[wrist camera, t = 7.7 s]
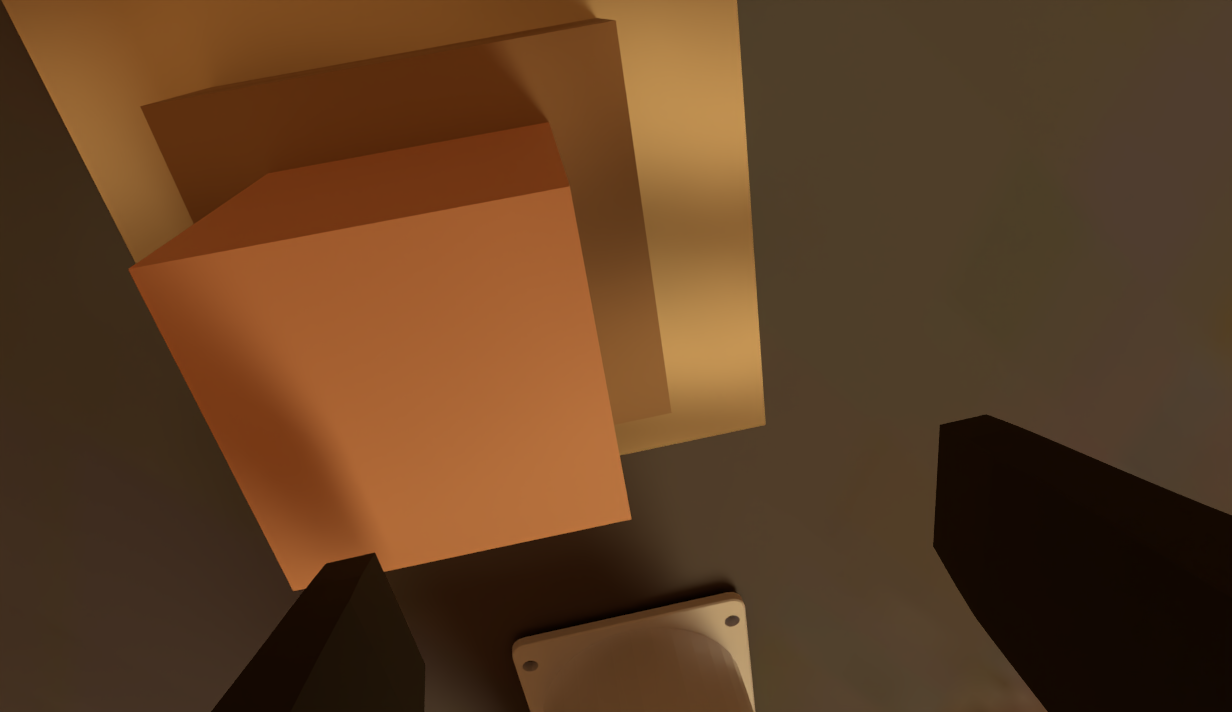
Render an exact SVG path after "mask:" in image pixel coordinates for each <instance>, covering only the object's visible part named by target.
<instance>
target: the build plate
mask: <svg viewBox="0 0 1232 712" xmlns="http://www.w3.org/2000/svg"><path fill="white" fill-rule="evenodd" d="M2 2H3V4H4V6H5V8H6V10H7V12H8V14H9V16H10V18H11V20H12V22H13V24H14V26H15V28H16V30H17V32H18V33H19V35H20V37H21V39H22V41H23V43H24V45H25V47H26V49H27V51H28V53H29V55H30V57H31V59H32V61H33V63H34V65H35V67H36V69H37V71H38V73H39V75H40V77H41V79H42V81H43V82H44V84H45V86H46V88H47V90H48V92H49V94H50V96H51V98H52V100H53V102H54V104H55V106H56V108H57V110H58V112H59V114H60V116H61V118H62V120H63V122H64V124H65V126H66V128H67V129H68V131H69V133H70V135H71V137H72V139H73V141H74V143H75V145H76V147H77V149H78V151H79V153H80V155H81V157H82V159H83V161H84V163H85V165H86V167H87V169H88V171H89V173H90V175H91V177H92V178H93V180H94V182H95V184H96V186H97V188H98V190H99V192H100V194H101V196H102V198H103V200H104V202H105V204H106V206H107V208H108V210H109V212H110V214H111V216H112V218H113V220H114V222H115V224H116V225H117V227H118V229H119V231H120V233H121V235H122V237H123V239H124V241H125V243H126V245H127V247H128V249H129V251H130V253H131V255H132V257H133V259H134V261H135V263H138V262H139V261H141V260H142V259H144V258H145V257H147V256H148V255H149V254H151V253H152V252H154V251H155V250H157V249H158V248H160V247H161V246H163V245H164V244H166V243H167V242H168V241H170V240H171V239H173V238H174V237H176V236H177V235H179V234H180V233H182V232H183V231H184V230H186V229H187V228H189V227H190V226H192V225H193V224H194V223H193V221H192V219H191V217H190V215H189V212H188V210H187V208H186V206H185V204H184V202H183V199H182V197H181V195H180V193H179V191H178V188H177V186H176V184H175V182H174V180H173V177H172V175H171V173H170V171H169V169H168V166H167V164H166V162H165V160H164V158H163V155H162V153H161V151H160V149H159V147H158V145H157V142H156V140H155V138H154V136H153V134H152V131H151V129H150V127H149V125H148V123H147V120H146V118H145V116H144V114H143V112H142V109H141V107H140V106H143V105H147V104H151V103H155V102H158V101H162V100H166V99H169V98H173V97H177V96H181V95H184V94H188V93H192V92H195V91H199V90H203V89H207V88H210V87H216V86H221V85H227V84H232V83H238V82H244V81H249V80H255V79H260V78H266V77H271V76H277V75H282V74H288V73H293V72H299V71H305V70H310V69H316V68H321V67H327V66H332V65H338V64H343V63H349V62H354V61H360V60H366V59H371V58H377V57H382V56H388V55H393V54H399V53H404V52H410V51H415V50H421V49H426V48H432V47H438V46H443V45H449V44H454V43H460V42H465V41H471V40H476V39H482V38H487V37H493V36H499V35H504V34H510V33H515V32H521V31H526V30H532V29H537V28H543V27H548V26H554V25H560V24H565V23H571V22H576V21H582V20H587V19H593V18H602V19H609V20H616V25H617V33H618V40H619V47H620V54H621V61H622V68H623V75H624V82H625V89H626V96H627V103H628V110H629V117H630V124H631V131H632V138H633V145H634V152H635V159H636V166H637V173H638V180H639V187H640V194H641V201H642V208H643V215H644V223H645V230H646V237H647V244H648V251H649V258H650V265H651V272H652V279H653V286H654V293H655V300H656V307H657V314H658V321H659V328H660V335H661V342H662V349H663V356H664V363H665V370H666V377H667V384H668V391H669V398H670V405H671V412H672V413H669V414H664V415H659V416H654V417H650V418H645V419H640V420H635V421H630V422H626V423H621V424H616V425H614V427H615V433H616V438H617V444H618V449H619V454H620V455H624V454H629V453H634V452H638V451H643V450H648V449H653V448H657V447H662V446H667V445H672V444H676V443H681V442H686V441H691V440H695V439H700V438H705V437H710V436H714V435H719V434H724V433H729V432H733V431H738V430H743V429H748V428H752V427H757V426H762V425H765V410H764V395H763V380H762V365H761V351H760V336H759V321H758V306H757V291H756V276H755V262H754V247H753V232H752V217H751V202H750V187H749V173H748V158H747V143H746V128H745V113H744V99H743V84H742V69H741V54H740V39H739V24H738V10H737V0H2Z"/></svg>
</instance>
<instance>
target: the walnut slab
mask: <svg viewBox="0 0 1232 712" xmlns="http://www.w3.org/2000/svg"><path fill="white" fill-rule="evenodd" d="M140 107H141V109H142V112H143V114H144V116H145V118H146V120H147V123H148V125H149V127H150V129H151V131H152V134H153V136H154V138H155V140H156V142H157V145H158V147H159V149H160V151H161V153H162V155H163V158H164V160H165V162H166V164H167V166H168V169H169V171H170V173H171V175H172V177H173V180H174V182H175V184H176V186H177V188H178V191H179V193H180V195H181V197H182V199H183V202H184V204H185V206H186V208H187V210H188V212H189V215H190V217H191V219H192V221H193V223H194V224H195V223H196V222H198V221H199V220H201V219H202V218H203V217H205V216H206V215H208V214H209V213H211V212H212V211H214V210H215V209H217V208H218V207H219V206H221V205H222V204H224V203H225V202H227V201H228V200H230V199H231V198H233V197H234V196H236V195H237V194H238V193H240V192H241V191H243V190H244V189H246V188H247V187H249V186H250V185H252V184H253V183H254V182H256V181H257V180H259V179H260V178H262V177H263V176H265V175H266V174H268V173H272V172H278V171H283V170H289V169H294V168H300V167H305V166H311V165H316V164H322V163H327V162H333V161H338V160H344V159H349V158H355V157H360V156H366V155H371V154H376V153H382V152H387V151H393V150H398V149H404V148H409V147H415V146H420V145H426V144H431V143H437V142H442V141H448V140H453V139H459V138H464V137H470V136H475V135H481V134H486V133H491V132H497V131H502V130H508V129H513V128H519V127H524V126H530V125H535V124H541V123H546V122H549V124H550V127H551V130H552V133H553V136H554V139H555V142H556V145H557V148H558V151H559V154H560V158H561V161H562V164H563V167H564V170H565V173H566V176H567V179H568V182H569V185H570V190H571V195H572V201H573V206H574V211H575V217H576V222H577V228H578V233H579V238H580V244H581V249H582V255H583V260H584V265H585V271H586V276H587V282H588V287H589V292H590V298H591V303H592V309H593V314H594V319H595V325H596V330H597V336H598V341H599V346H600V352H601V357H602V363H603V368H604V373H605V379H606V384H607V390H608V395H609V400H610V406H611V411H612V417H613V422H614V425H616V424H621V423H626V422H630V421H635V420H640V419H645V418H650V417H654V416H659V415H664V414H669V413H672V412H671V405H670V398H669V391H668V384H667V377H666V370H665V363H664V356H663V349H662V342H661V335H660V328H659V321H658V314H657V307H656V300H655V293H654V286H653V279H652V272H651V265H650V258H649V251H648V244H647V237H646V230H645V223H644V215H643V208H642V201H641V194H640V187H639V180H638V173H637V166H636V159H635V152H634V145H633V138H632V131H631V124H630V117H629V110H628V103H627V96H626V89H625V82H624V75H623V68H622V61H621V54H620V47H619V40H618V33H617V25H616V20H609V19H602V18H593V19H587V20H582V21H576V22H571V23H565V24H560V25H554V26H548V27H543V28H537V29H532V30H526V31H521V32H515V33H510V34H504V35H499V36H493V37H487V38H482V39H476V40H471V41H465V42H460V43H454V44H449V45H443V46H438V47H432V48H426V49H421V50H415V51H410V52H404V53H399V54H393V55H388V56H382V57H377V58H371V59H366V60H360V61H354V62H349V63H343V64H338V65H332V66H327V67H321V68H316V69H310V70H305V71H299V72H293V73H288V74H282V75H277V76H271V77H266V78H260V79H255V80H249V81H244V82H238V83H232V84H227V85H221V86H216V87H210V88H207V89H203V90H199V91H195V92H192V93H188V94H184V95H181V96H177V97H173V98H169V99H166V100H162V101H158V102H155V103H151V104H147V105H143V106H140Z"/></svg>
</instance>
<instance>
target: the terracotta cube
mask: <svg viewBox="0 0 1232 712" xmlns="http://www.w3.org/2000/svg"><path fill="white" fill-rule="evenodd" d="M128 270H129V272H130V274H131V276H132V278H133V280H134V282H135V284H136V286H137V288H138V290H139V291H140V293H141V295H142V297H143V299H144V301H145V303H146V305H147V307H148V309H149V311H150V313H151V315H152V317H153V319H154V321H155V323H156V325H157V327H158V328H159V330H160V332H161V334H162V336H163V338H164V340H165V342H166V344H167V346H168V348H169V350H170V352H171V354H172V356H173V358H174V360H175V362H176V364H177V365H178V367H179V369H180V371H181V373H182V375H183V377H184V379H185V381H186V383H187V385H188V387H189V389H190V391H191V393H192V395H193V397H194V399H195V401H196V402H197V404H198V406H199V408H200V410H201V412H202V414H203V416H204V418H205V420H206V422H207V424H208V426H209V428H210V430H211V432H212V434H213V436H214V438H215V439H216V441H217V443H218V445H219V447H220V449H221V451H222V453H223V455H224V457H225V459H226V461H227V463H228V465H229V467H230V469H231V471H232V473H233V475H234V477H235V478H236V480H237V482H238V484H239V486H240V488H241V490H242V492H243V494H244V496H245V498H246V500H247V502H248V504H249V506H250V508H251V510H252V512H253V514H254V515H255V517H256V519H257V521H258V523H259V525H260V527H261V529H262V531H263V533H264V535H265V537H266V539H267V541H268V543H269V545H270V547H271V549H272V551H273V552H274V554H275V556H276V558H277V560H278V562H279V564H280V566H281V568H282V570H283V572H284V574H285V576H286V578H287V580H288V582H289V584H290V586H291V588H292V589H293V591H296V590H301V589H305V588H307V586H308V585H309V584H310V582H311V581H312V580H313V579H314V577H315V576H316V575H317V574H318V572H319V571H320V570H321V569H322V568H323V566H324V565H325V564H326V563H330V562H334V561H339V560H343V559H348V558H352V557H357V556H361V555H366V554H370V553H374V552H375V553H376V555H377V558H378V560H379V562H380V564H381V567H382V569H383V571H384V572H385V571H390V570H395V569H400V568H404V567H409V566H414V565H418V564H423V563H428V562H433V561H437V560H442V559H447V558H451V557H456V556H461V555H466V554H470V553H475V552H480V551H484V550H489V549H494V548H499V547H503V546H508V545H513V544H517V543H522V542H527V541H532V540H536V539H541V538H546V537H550V536H555V535H560V534H564V533H569V532H574V531H579V530H583V529H588V528H593V527H597V526H602V525H607V524H612V523H616V522H621V521H626V520H630V519H631V514H630V508H629V503H628V498H627V492H626V487H625V481H624V476H623V471H622V465H621V460H620V454H619V449H618V444H617V438H616V433H615V427H614V422H613V417H612V411H611V406H610V400H609V395H608V390H607V384H606V379H605V373H604V368H603V363H602V357H601V352H600V346H599V341H598V336H597V330H596V325H595V319H594V314H593V309H592V303H591V298H590V292H589V287H588V282H587V276H586V271H585V265H584V260H583V255H582V249H581V244H580V238H579V233H578V228H577V222H576V217H575V211H574V206H573V201H572V195H571V190H570V185H569V182H568V179H567V176H566V173H565V170H564V167H563V164H562V161H561V158H560V154H559V151H558V148H557V145H556V142H555V139H554V136H553V133H552V130H551V127H550V124H549V122H546V123H541V124H535V125H530V126H524V127H519V128H513V129H508V130H502V131H497V132H491V133H486V134H481V135H475V136H470V137H464V138H459V139H453V140H448V141H442V142H437V143H431V144H426V145H420V146H415V147H409V148H404V149H398V150H393V151H387V152H382V153H376V154H371V155H366V156H360V157H355V158H349V159H344V160H338V161H333V162H327V163H322V164H316V165H311V166H305V167H300V168H294V169H289V170H283V171H278V172H272V173H268V174H266V175H265V176H263V177H262V178H260V179H259V180H257V181H256V182H254V183H253V184H252V185H250V186H249V187H247V188H246V189H244V190H243V191H241V192H240V193H238V194H237V195H236V196H234V197H233V198H231V199H230V200H228V201H227V202H225V203H224V204H222V205H221V206H219V207H218V208H217V209H215V210H214V211H212V212H211V213H209V214H208V215H206V216H205V217H203V218H202V219H201V220H199V221H198V222H196V223H195V224H193V225H192V226H190V227H189V228H187V229H186V230H184V231H183V232H182V233H180V234H179V235H177V236H176V237H174V238H173V239H171V240H170V241H168V242H167V243H166V244H164V245H163V246H161V247H160V248H158V249H157V250H155V251H154V252H152V253H151V254H149V255H148V256H147V257H145V258H144V259H142V260H141V261H139V262H138V263H136V264H135V265H133V266H132V267H131V268H129V269H128Z"/></svg>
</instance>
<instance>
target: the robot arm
mask: <svg viewBox="0 0 1232 712" xmlns="http://www.w3.org/2000/svg"><path fill="white" fill-rule="evenodd" d="M933 547H934V548H935V550H936V552H937V554H938V555H939V557H940V559H941V561H942V562H943V564H944V566H945V568H946V569H947V571H948V573H949V574H950V576H951V578H952V580H953V581H954V583H955V585H956V587H957V588H958V590H959V591H960V593H961V595H962V596H963V598H964V599H965V601H966V603H967V604H968V606H969V608H970V609H971V611H972V612H973V614H974V616H975V617H976V619H977V620H978V621H979V623H980V624H981V625H982V627H983V628H984V629H985V631H986V632H987V633H988V635H989V636H990V637H991V639H992V640H993V641H994V643H995V644H996V645H997V647H998V648H999V649H1000V650H1001V652H1002V653H1003V654H1004V656H1005V657H1006V658H1007V660H1008V661H1009V662H1010V663H1011V665H1012V666H1013V667H1014V669H1015V670H1016V671H1017V673H1018V674H1019V675H1020V677H1021V678H1022V679H1023V680H1024V682H1025V683H1026V684H1027V686H1028V687H1029V688H1030V689H1031V691H1032V692H1033V693H1034V694H1035V696H1036V697H1037V698H1038V700H1039V701H1040V702H1041V703H1042V705H1043V706H1044V707H1045V709H1046V710H1047V711H1048V712H1232V515H1229V514H1227V513H1224V512H1222V511H1219V510H1217V509H1214V508H1211V507H1209V506H1206V505H1204V504H1201V503H1199V502H1197V501H1194V500H1192V499H1189V498H1187V497H1184V496H1182V495H1179V494H1177V493H1175V492H1172V491H1170V490H1167V489H1165V488H1163V487H1160V486H1158V485H1155V484H1153V483H1151V482H1148V481H1146V480H1143V479H1141V478H1139V477H1136V476H1134V475H1132V474H1129V473H1127V472H1124V471H1122V470H1120V469H1117V468H1115V467H1113V466H1110V465H1108V464H1106V463H1103V462H1101V461H1099V460H1096V459H1094V458H1092V457H1089V456H1087V455H1085V454H1082V453H1080V452H1078V451H1075V450H1073V449H1071V448H1068V447H1066V446H1064V445H1061V444H1059V443H1057V442H1054V441H1052V440H1050V439H1047V438H1045V437H1042V436H1040V435H1038V434H1035V433H1033V432H1030V431H1028V430H1026V429H1023V428H1021V427H1018V426H1016V425H1013V424H1011V423H1008V422H1005V421H1003V420H1000V419H997V418H995V417H992V416H989V415H982V416H977V417H973V418H969V419H964V420H960V421H955V422H951V423H946V424H942V425H940V433H939V452H938V470H937V488H936V506H935V524H934V542H933ZM732 615H734V616H732ZM729 616H732V617H729ZM512 658H513V661H514V664H515V667H516V670H517V673H518V676H519V679H520V682H521V685H522V688H523V691H524V694H525V697H526V700H527V703H528V706H529V709H530V712H755V703H754V693H753V683H752V673H751V663H750V652H749V642H748V632H747V622H746V612H745V605H744V603H743V600H742V598H741V596H740V595H739V594H738V593H735V592H726V593H722V594H717V595H713V596H708V597H704V598H699V599H695V600H690V601H686V602H681V603H677V604H672V605H668V606H663V607H659V608H654V609H650V610H645V611H641V612H636V613H632V614H627V615H623V616H618V617H614V618H609V619H605V620H600V621H596V622H591V623H587V624H582V625H578V626H573V627H568V628H564V629H559V630H555V631H550V632H546V633H541V634H537V635H532V636H528V637H524V638H521V639H519V640H517V641H516V642H515V643H514V644H513V646H512ZM527 661H532V662H527ZM424 697H425V663H424V661H423V659H422V657H421V654H420V652H419V650H418V648H417V645H416V643H415V641H414V639H413V636H412V634H411V632H410V630H409V627H408V625H407V623H406V621H405V618H404V616H403V614H402V612H401V609H400V607H399V605H398V603H397V600H396V598H395V596H394V594H393V591H392V589H391V587H390V585H389V582H388V580H387V578H386V576H385V573H384V571H383V569H382V567H381V564H380V562H379V560H378V558H377V555H376V553H375V552H374V553H370V554H366V555H361V556H357V557H352V558H348V559H343V560H339V561H334V562H330V563H326V564H325V565H324V566H323V568H322V569H321V570H320V571H319V572H318V574H317V575H316V576H315V577H314V579H313V580H312V581H311V582H310V584H309V585H308V586H307V588H306V589H305V590H304V591H303V593H302V594H301V595H300V597H299V598H298V599H297V601H296V602H295V603H294V605H293V606H292V607H291V608H290V610H289V611H288V612H287V614H286V615H285V616H284V618H283V619H282V620H281V622H280V623H279V624H278V626H277V627H276V628H275V630H274V631H273V632H272V634H271V635H270V636H269V638H268V639H267V640H266V641H265V643H264V644H263V645H262V647H261V648H260V649H259V651H258V652H257V653H256V655H255V656H254V657H253V659H252V660H251V661H250V662H249V664H248V665H247V666H246V668H245V669H244V670H243V671H242V673H241V674H240V675H239V677H238V678H237V679H236V680H235V682H234V683H233V684H232V686H231V687H230V688H229V689H228V691H227V692H226V693H225V695H224V696H223V697H222V698H221V700H220V701H219V702H218V704H217V705H216V706H215V707H214V709H213V710H212V711H211V712H424Z"/></svg>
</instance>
